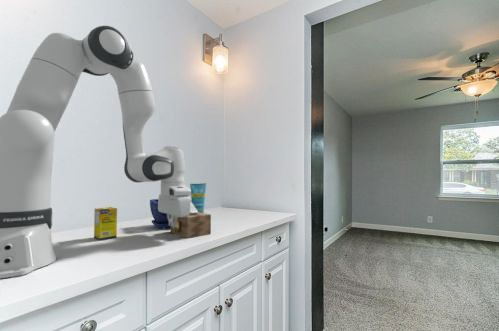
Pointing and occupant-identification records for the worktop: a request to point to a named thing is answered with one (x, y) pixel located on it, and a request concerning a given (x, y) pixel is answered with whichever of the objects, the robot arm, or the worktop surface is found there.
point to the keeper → (193, 208)
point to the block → (194, 225)
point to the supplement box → (105, 223)
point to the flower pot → (158, 215)
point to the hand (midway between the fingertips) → (172, 226)
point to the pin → (177, 227)
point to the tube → (198, 196)
